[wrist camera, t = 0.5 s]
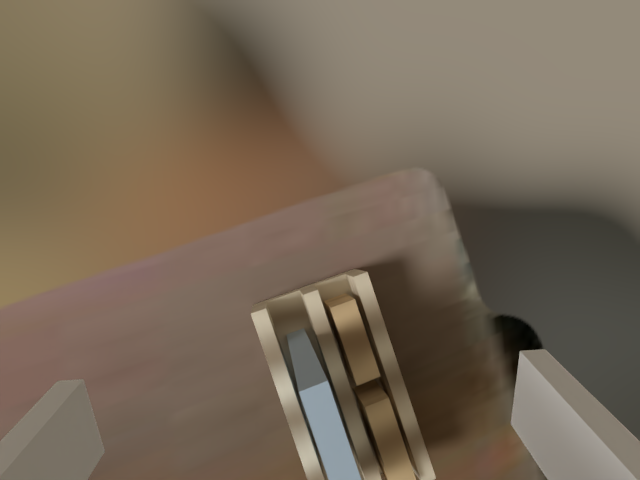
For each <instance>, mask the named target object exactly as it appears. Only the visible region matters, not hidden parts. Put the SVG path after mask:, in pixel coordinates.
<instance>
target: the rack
mask: <svg viewBox="0 0 640 480" xmlns="http://www.w3.org/2000/svg"><path fill="white" fill-rule="evenodd" d="M345 293H346V294H347V295H349V296H351V297H352V298H354V299H355V301H356V304H357V307H358V310H359V313H360V316H361V319H362V322H363V325H364V328H365V331H366V334H367V337H368V340H369V343H370V346H371V349H372V352H373V355H374V358H375V361H376V364H377V367H378V370H379V373H380V377H378V378H375V379H373V380H375V381H376V382H377V384H378V385H379V386H380V387H381V388H382V390H383V391H384V392H385V393H386V395H387V396H388V397H389V400H390V403H391V406H392V409H393V412H394V415H395V418H396V421H397V424H398V427H399V430H400V433H401V436H402V439H403V442H404V445H405V448H406V451H407V454H408V457H409V460H410V463H411V466H412V469H413V471H414V472H415V474H416V475H417V477H418V478H419V480H434V479H436V477H435V474H434V471H433V468H432V465H431V462H430V459H429V456H428V453H427V450H426V447H425V444H424V441H423V438H422V435H421V432H420V429H419V426H418V423H417V420H416V417H415V414H414V411H413V408H412V405H411V401H410V398H409V395H408V392H407V389H406V386H405V383H404V380H403V377H402V374H401V371H400V368H399V365H398V362H397V359H396V356H395V353H394V350H393V347H392V344H391V341H390V338H389V335H388V332H387V329H386V326H385V323H384V320H383V317H382V314H381V311H380V308H379V305H378V302H377V299H376V296H375V293H374V290H373V287H372V284H371V281H370V278H369V275H368V272H366V271H362V270H358V269H352V270H350V271H347V272H344V273H341V274H338V275H336V276H333V277H330V278H327V279H324V280H322V281H319V282H316V283H313V284H310V285H307V286H305V287H302V288H299V289H296V290H293V291H291V292H288V293H285V294H282V295H279V296H276V297H274V298H271V299H268V300H265V301H262V302H260V303H257V304H254V305H253V307H252V311H251V316H252V319H253V321H254V324H255V327H256V330H257V333H258V336H259V339H260V342H261V345H262V348H263V351H264V354H265V357H266V359H267V362H268V365H269V368H270V371H271V374H272V377H273V380H274V383H275V386H276V389H277V392H278V395H279V397H280V400H281V403H282V406H283V409H284V412H285V415H286V418H287V421H288V424H289V427H290V430H291V432H292V435H293V438H294V441H295V444H296V447H297V450H298V453H299V456H300V459H301V462H302V465H303V468H304V470H305V473H306V476H307V479H308V480H329V479H328V476H327V473H326V470H325V467H324V465H323V462H322V459H321V456H320V453H319V450H318V447H317V444H316V441H315V438H314V435H313V432H312V429H311V426H310V423H309V420H308V418H307V415H306V412H305V409H304V406H303V403H302V400H301V397H300V394H299V391H298V386H297V381H296V377H295V372H294V368H293V363H292V359H291V354H290V349H289V345H288V340H287V336H286V335H287V334H290V333H292V332H295V331H298V330H300V329H303V328H304V329H305V331H306V334H307V336H308V338H309V340H310V342H311V345H312V347H313V349H314V351H315V353H316V356H317V358H318V360H319V362H320V364H321V367H322V369H323V371H324V373H325V375H326V378H327V380H328V383H329V386H330V388H331V391H332V394H333V397H334V400H335V403H336V406H337V409H338V412H339V415H340V418H341V421H342V424H343V427H344V430H345V433H346V436H347V439H348V442H349V445H350V448H351V451H352V454H353V457H354V459H355V462H356V465H357V468H358V471H359V474H360V477H361V480H382V479H381V476H380V474H382V473H383V472H382V470H381V468H380V466H379V464H378V461H377V458H376V455H375V452H374V449H373V446H372V443H371V440H370V437H369V434H368V431H367V428H366V425H365V422H364V419H363V416H362V413H361V410H360V407H359V404H358V401H357V398H356V395H355V392H354V389H353V388H354V387H356V386H357V385H356V383H355V382H354V380H353V379H352V377H351V376H350V374H349V373H348V371H347V368H346V365H345V362H344V359H343V356H342V354H341V351H340V348H339V345H338V342H337V339H336V336H335V333H334V330H333V327H332V324H331V321H330V318H329V315H328V312H327V309H326V306H325V303H324V301H326V300H328V299H331V298H334V297H337V296H339V295H342V294H345ZM370 381H371V380H370ZM368 382H369V381H368ZM365 383H366V382H365ZM363 384H364V383H363ZM360 385H361V384H360ZM358 386H359V385H358Z"/></svg>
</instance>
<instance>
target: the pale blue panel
mask: <svg viewBox="0 0 640 480" xmlns="http://www.w3.org/2000/svg"><path fill="white" fill-rule="evenodd" d="M286 336H287V340H288V345H289V349H290V354H291V359H292V363H293V368H294V372H295V377H296V381H297V386H298V391H299V394H300V397H301V400H302V403H303V406H304V409H305V412H306V415H307V418H308V420H309V423H310V426H311V429H312V432H313V435H314V438H315V441H316V444H317V447H318V450H319V453H320V456H321V459H322V462H323V465H324V467H325V470H326V473H327V476H328V479H329V480H361V477H360V474H359V471H358V468H357V465H356V462H355V459H354V457H353V454H352V451H351V448H350V445H349V442H348V439H347V436H346V433H345V430H344V427H343V424H342V421H341V418H340V415H339V412H338V409H337V406H336V403H335V400H334V397H333V394H332V391H331V388H330V386H329V383H328V380H327V378H326V375H325V373H324V371H323V369H322V367H321V364H320V362H319V360H318V358H317V356H316V353H315V351H314V349H313V347H312V345H311V342H310V340H309V338H308V336H307V334H306V331H305V329H304V328H303V329H300V330H298V331H295V332H292V333H290V334H287V335H286Z"/></svg>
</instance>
